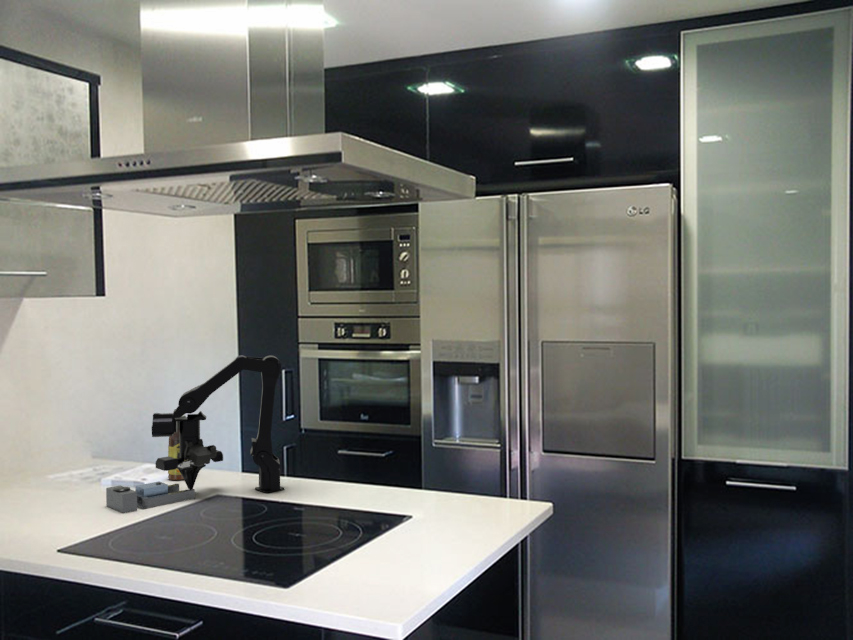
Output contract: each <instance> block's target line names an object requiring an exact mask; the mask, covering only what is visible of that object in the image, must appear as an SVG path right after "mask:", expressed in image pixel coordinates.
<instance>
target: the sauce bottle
mask: <svg viewBox="0 0 853 640" xmlns="http://www.w3.org/2000/svg"><path fill="white" fill-rule="evenodd" d="M183 417H187V416H186V414H184V415H183V416H181V417H180V418H183ZM177 439H180V438H179V421H177V433H175V432H174V434H173V436H170V437H168V446H167V448H168V451H167V453H168V454H167V455H168V456H169V457H172V458H176V459H177V458H180V457H178V453H180V443H178V442H177ZM168 456H167V457H168ZM184 461H186V460H184ZM167 475H168V477H167V478H168V480H171V481H184V478H183V476H182V475H181V473H180V471H179V470H178V469H177V468H176V469H174V470H168V471H167Z"/></svg>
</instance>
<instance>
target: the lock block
mask: <svg viewBox="0 0 853 640" xmlns="http://www.w3.org/2000/svg"><path fill="white" fill-rule="evenodd" d="M168 485H169V484H168V483H165V482H162V481H154V482H148V483H143V484H138V485H135V486H134V488H135V490H134V491H136V492H137V493H139V494H141V495H144V496H146V497H152V496H157V495H163V494H168Z"/></svg>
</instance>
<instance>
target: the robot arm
mask: <svg viewBox="0 0 853 640" xmlns="http://www.w3.org/2000/svg"><path fill="white" fill-rule="evenodd" d="M281 369H282V364H281V361H280V360H279V359H278V357H276V356H275V355H272V354H271V355H267V356H265V357H258V356H257V357H256V356H248V355H247V356H245V355H238V356H236V357H235V359H233V360H232V361H231V362H229V364H227V365H226V366H224V367H223V368H222V369H220V370H219V371H217V372H216V373H215V374H214V375H213V376H211V377H210V378H209V379H207V380H206V381H205V382H203V383H202V384H200V385H197V386H195V387H194V388H191V389H190V390H189V389H188V390H187V391H186V392H183V394H181V396H180V398H179V400H178V403H177V404H178V406H177V407H176V409H174V410H173V412H172V413H171V412H168V413H159V412H154V413H153V414H152V422H151V423H152V424H151V437H152V438H166V437H167V438H169V437H170V436H173V434H174V432H175V433H177V421H179V438H180V439H177V442H178V443H180V453H178V457H180V458H177V459H176V458H172V457H169V456H163V457H158V458H157V459H156V461H155V469H158V470H161V471H163V472H168V470H174V469H176V468H177V469H178V470H179V471H180V473H181V475H182V476H183V478H184V479H183V481H184V482H185V485H186V486H187V487H186V488H187V490H190V489H194V486H195V483H196V480H197V477H198V476H199V473H200V471H201V470H202V469H203V468H205V467H206V466H207V465H210V463H211V461H212V462H213V463H218V462H223V461H224V453H223V452H222V450H218V449H217V447H216V445H214V444H211V445H206V446H204V441H203V438H201V421H206V420H207V415H205V414H204V413H203V412H202V411H201V410H199V408H200V407H201V406H202V405H203V404H204V403H205V402H206V400H207V399H209V397H210V396H211V395H212V394H213V393H215V392H217V390H218V389H220V388H221V387H222V386H224V385H225V384H226V383H227V382H229V381H230V380H232V378H234V377H235V376H237V375H238V374H240V372H242V371H243V370H244V371H251V372H256V373H257V372H258V373H261V385H262V386H261V387H262V388H261V399H260V411H259V420H258V421H259V424H258V431H257V436H256V438H254V437H251V448H250V450H249V451H250V456H252V460H253V462H254V463H255V464H256V465H257V466H258V467H259V468H258V486H257V487H254V491H255V490H256V491H258V490H259V491H258V492H262V491H263V492H262V493H265V492H266V494H269V493H273V491H274V492H278V491H277V490H279V491H282V490H281V489H283V490H285V489H284V488H285V487H284V486H281V469H280V467H281V464H280V459H279V457H278V456H276V455H275V454H274V453H273V443H272V424H273V416H274V415H273V413H274V406H275V405H274V403H275V393H276V386H277V383H278V381H279V377H280V374H281ZM197 410H199V412H198V413H195V412H197ZM186 414H187V416H186V417H183V418H180V417H181V416H183V415H186ZM184 460H186V461H184ZM268 492H269V493H268Z"/></svg>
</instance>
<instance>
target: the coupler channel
mask: <svg viewBox="0 0 853 640" xmlns="http://www.w3.org/2000/svg"><path fill="white" fill-rule="evenodd" d="M105 491H106V492H105V495H106V497H105V498H106V507H108V508H110V509H112V510H114V509H115V510H114V511H117V512H119V513H121V512H122V514H126V513H130V511H131V512H136V511H138V508H139V509H141V510H144V509H145V510H146V509H150V508H155V507H160V506H164V505H169V504H176V503H178V502H179V501H180V502H183V501H184V500H185V501H188V499H189V500H195V499H196V490H195V489H194V488H193V489H184V490H180V483H173V484H168V494H163V495H157V496H152V497H146V496H144V495H141V494H139V493H137V492H136V491H135V490H134V489H131V487H129V486H124V485H115V486H110V487H106V489H105ZM180 502H179V503H180ZM125 512H126V513H125Z"/></svg>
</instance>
